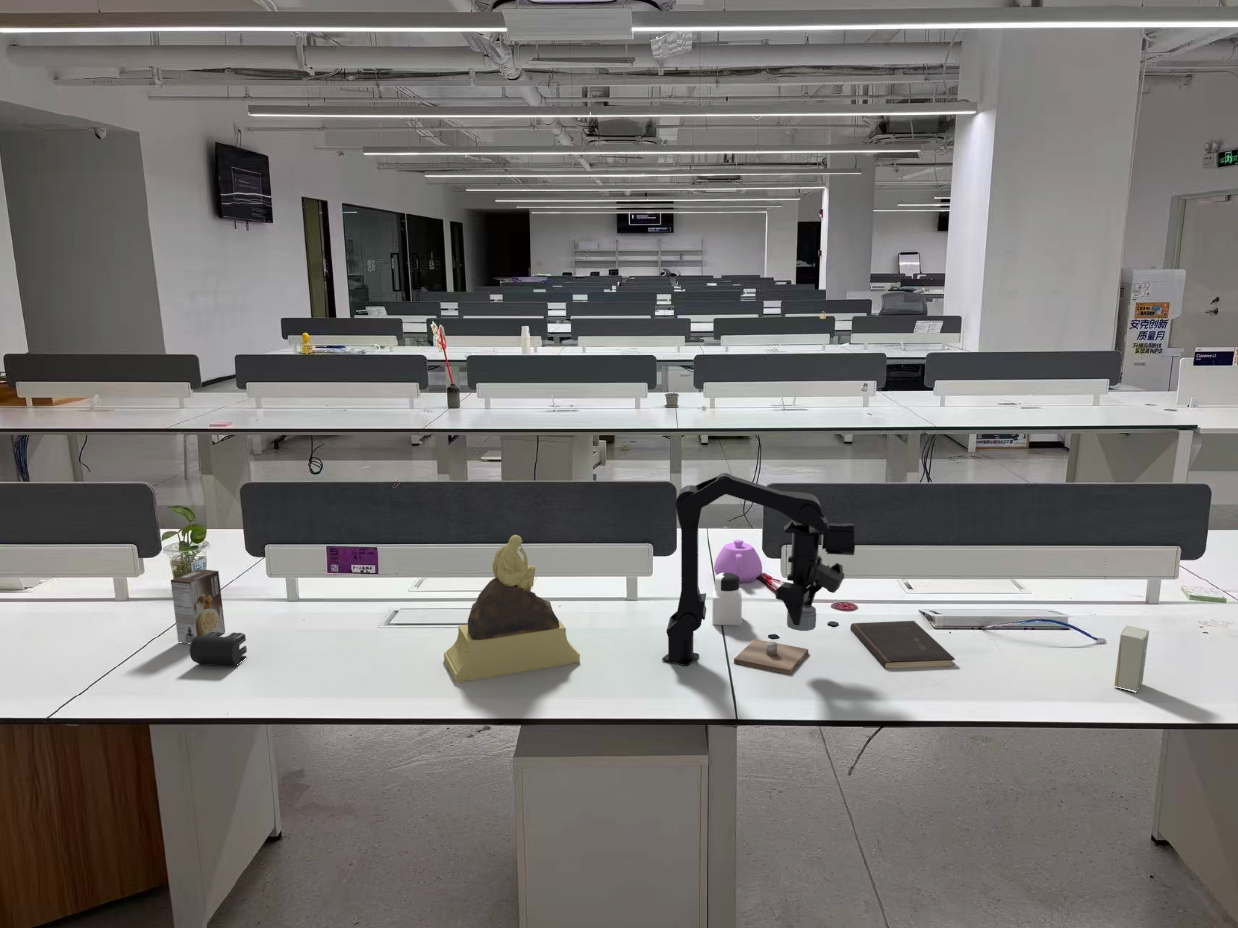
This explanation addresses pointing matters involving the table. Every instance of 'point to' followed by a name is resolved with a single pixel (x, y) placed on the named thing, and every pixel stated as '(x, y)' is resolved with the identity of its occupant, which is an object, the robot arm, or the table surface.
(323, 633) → the table surface
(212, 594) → the coffee box
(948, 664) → the hardcover book
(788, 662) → the stud plate
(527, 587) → the seated figure statue
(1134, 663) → the skincare box
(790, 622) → the grey short cylinder
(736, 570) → the teapot
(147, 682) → the table surface
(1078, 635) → the table surface
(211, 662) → the end cap
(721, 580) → the medicine bottle
